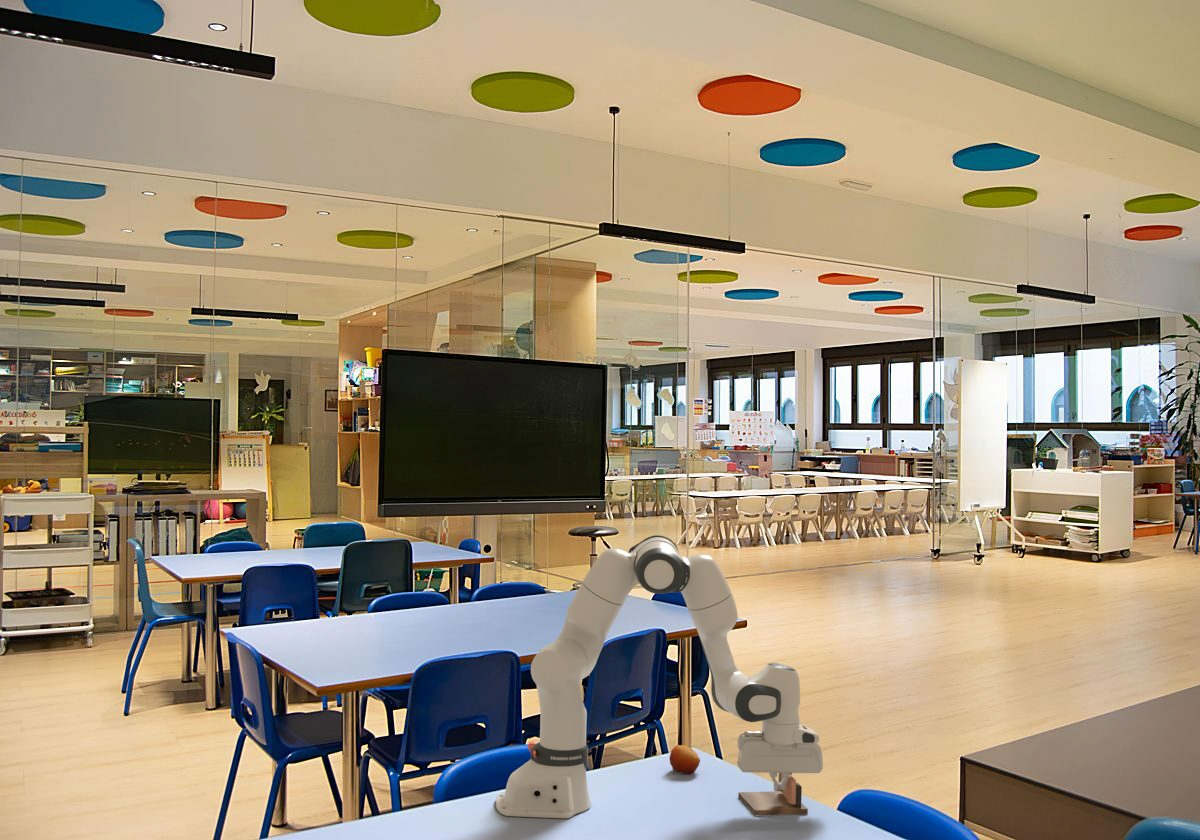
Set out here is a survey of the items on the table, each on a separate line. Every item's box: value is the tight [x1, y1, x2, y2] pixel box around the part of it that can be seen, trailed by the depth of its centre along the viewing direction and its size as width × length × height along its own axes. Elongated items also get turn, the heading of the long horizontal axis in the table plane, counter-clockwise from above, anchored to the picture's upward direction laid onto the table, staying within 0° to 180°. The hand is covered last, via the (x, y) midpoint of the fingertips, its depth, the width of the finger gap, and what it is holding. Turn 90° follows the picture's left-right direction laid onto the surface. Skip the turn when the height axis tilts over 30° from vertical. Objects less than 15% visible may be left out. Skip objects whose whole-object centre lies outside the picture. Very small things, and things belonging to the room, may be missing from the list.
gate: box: [778, 773, 797, 804], centre depth 233 cm, size 11×2×6 cm, turn 6°
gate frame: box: [738, 773, 809, 816], centre depth 232 cm, size 13×13×8 cm
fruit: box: [669, 744, 701, 775], centre depth 256 cm, size 8×8×8 cm
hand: (779, 790), depth 230 cm, fingers closed
